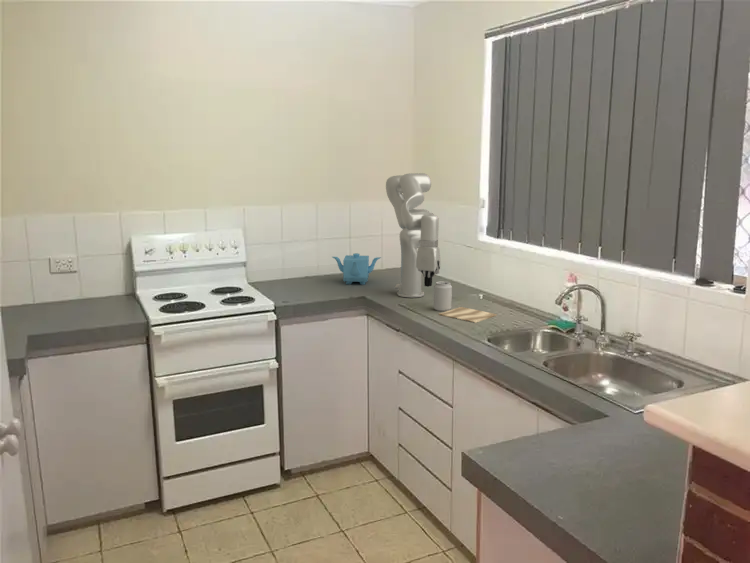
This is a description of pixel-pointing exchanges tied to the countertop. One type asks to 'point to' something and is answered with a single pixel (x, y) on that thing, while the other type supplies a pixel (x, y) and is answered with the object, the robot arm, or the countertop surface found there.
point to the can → (442, 296)
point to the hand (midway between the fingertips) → (428, 285)
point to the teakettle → (356, 268)
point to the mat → (468, 314)
